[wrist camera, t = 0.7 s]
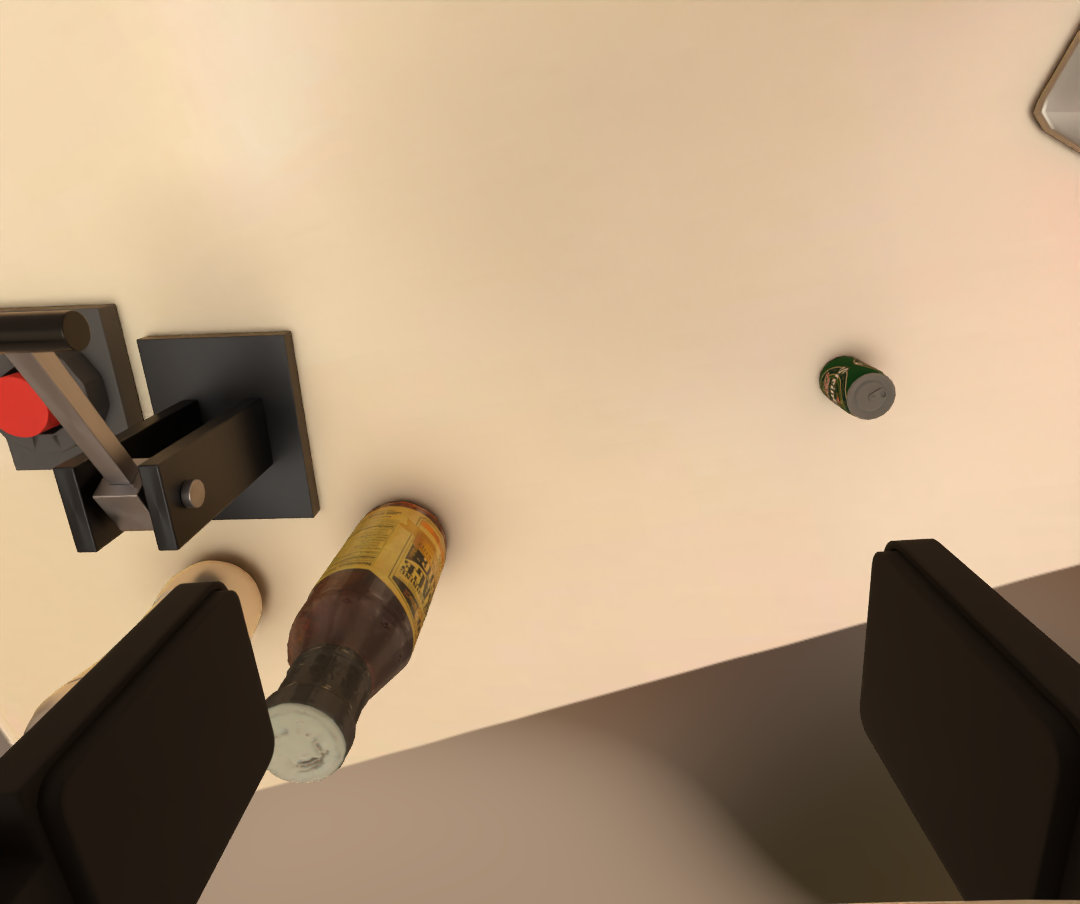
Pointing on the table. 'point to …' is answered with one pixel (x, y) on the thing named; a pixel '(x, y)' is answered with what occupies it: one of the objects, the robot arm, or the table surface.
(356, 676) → the sauce bottle
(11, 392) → the button
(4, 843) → the robot arm
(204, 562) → the plastic bottle
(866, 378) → the beer can
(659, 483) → the table surface
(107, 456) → the lever
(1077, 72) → the toaster
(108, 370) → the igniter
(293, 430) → the bracket
